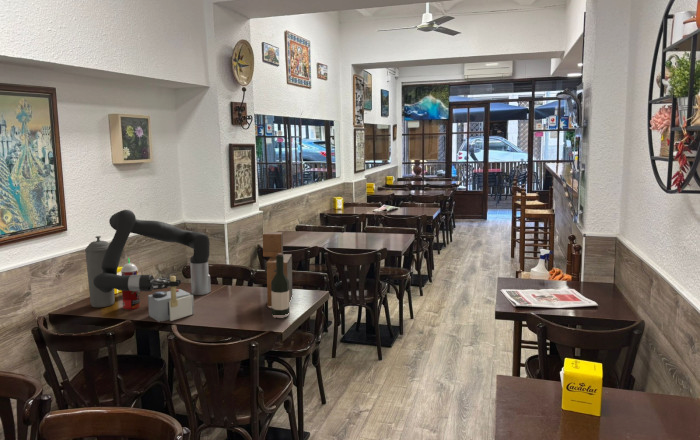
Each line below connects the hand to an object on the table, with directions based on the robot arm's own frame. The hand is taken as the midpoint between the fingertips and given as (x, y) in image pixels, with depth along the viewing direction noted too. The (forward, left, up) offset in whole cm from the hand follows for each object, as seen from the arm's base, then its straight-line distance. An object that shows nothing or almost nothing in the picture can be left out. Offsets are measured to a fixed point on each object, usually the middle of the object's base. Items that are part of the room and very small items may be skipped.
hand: (179, 283), depth 236 cm
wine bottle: (-38, +25, -18) cm, 49 cm away
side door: (-3, -3, -18) cm, 18 cm away
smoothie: (+1, -57, -18) cm, 60 cm away
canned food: (+9, -35, -18) cm, 41 cm away
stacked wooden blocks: (-50, +7, -18) cm, 54 cm away
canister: (+18, -49, -18) cm, 56 cm away
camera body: (0, -11, -18) cm, 21 cm away
